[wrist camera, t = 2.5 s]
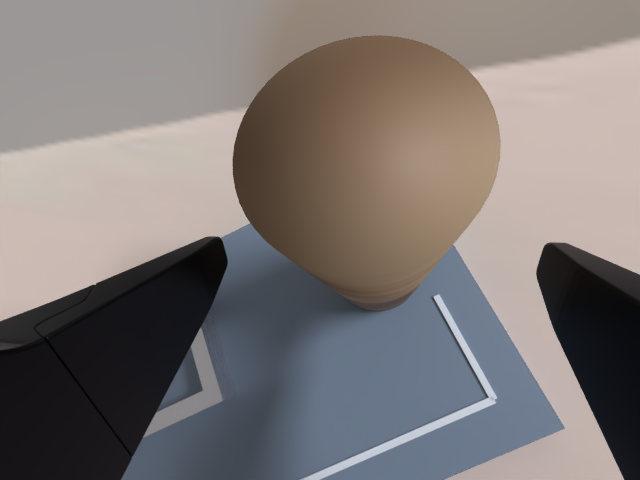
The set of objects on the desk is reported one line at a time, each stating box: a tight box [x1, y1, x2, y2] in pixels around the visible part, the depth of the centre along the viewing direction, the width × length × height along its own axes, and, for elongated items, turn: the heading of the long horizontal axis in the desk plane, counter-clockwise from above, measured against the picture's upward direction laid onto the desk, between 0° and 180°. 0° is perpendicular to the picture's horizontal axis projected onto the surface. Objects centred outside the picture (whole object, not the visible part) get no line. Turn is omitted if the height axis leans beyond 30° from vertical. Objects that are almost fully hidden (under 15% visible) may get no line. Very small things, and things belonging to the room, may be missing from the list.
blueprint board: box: [121, 223, 565, 480], centre depth 17 cm, size 15×22×1 cm
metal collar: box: [143, 310, 237, 438], centre depth 17 cm, size 8×8×2 cm
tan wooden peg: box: [233, 36, 500, 311], centre depth 11 cm, size 4×4×12 cm
